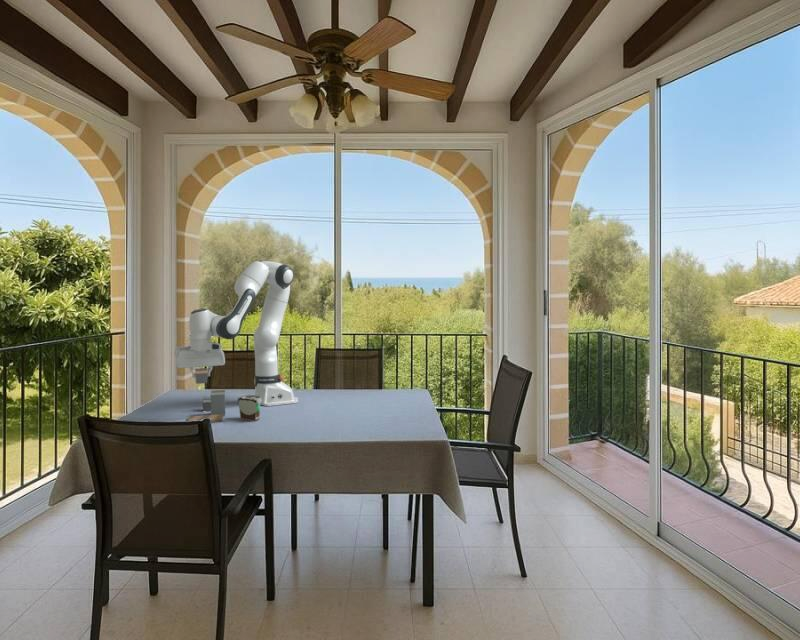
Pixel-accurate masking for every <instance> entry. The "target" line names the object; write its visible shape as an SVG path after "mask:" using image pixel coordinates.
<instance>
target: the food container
mask: <svg viewBox="0 0 800 640" xmlns="http://www.w3.org/2000/svg"><path fill="white" fill-rule="evenodd" d="M237 402H238V408H239V418H240V419H241V420H246V421H252V422H258V421H259V420H260V413H261V411H260V410H261V405H260V403H261V402H262V400H261V398H260V396H257V395H255V394H246V395H239V396H238V397H237Z"/></svg>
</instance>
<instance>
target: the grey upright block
mask: <svg viewBox="0 0 800 640" xmlns="http://www.w3.org/2000/svg"><path fill="white" fill-rule="evenodd" d="M210 397H211V411H210V415H217V414H223V417H225V416H226V390H225V389H211V390H210Z"/></svg>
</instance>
